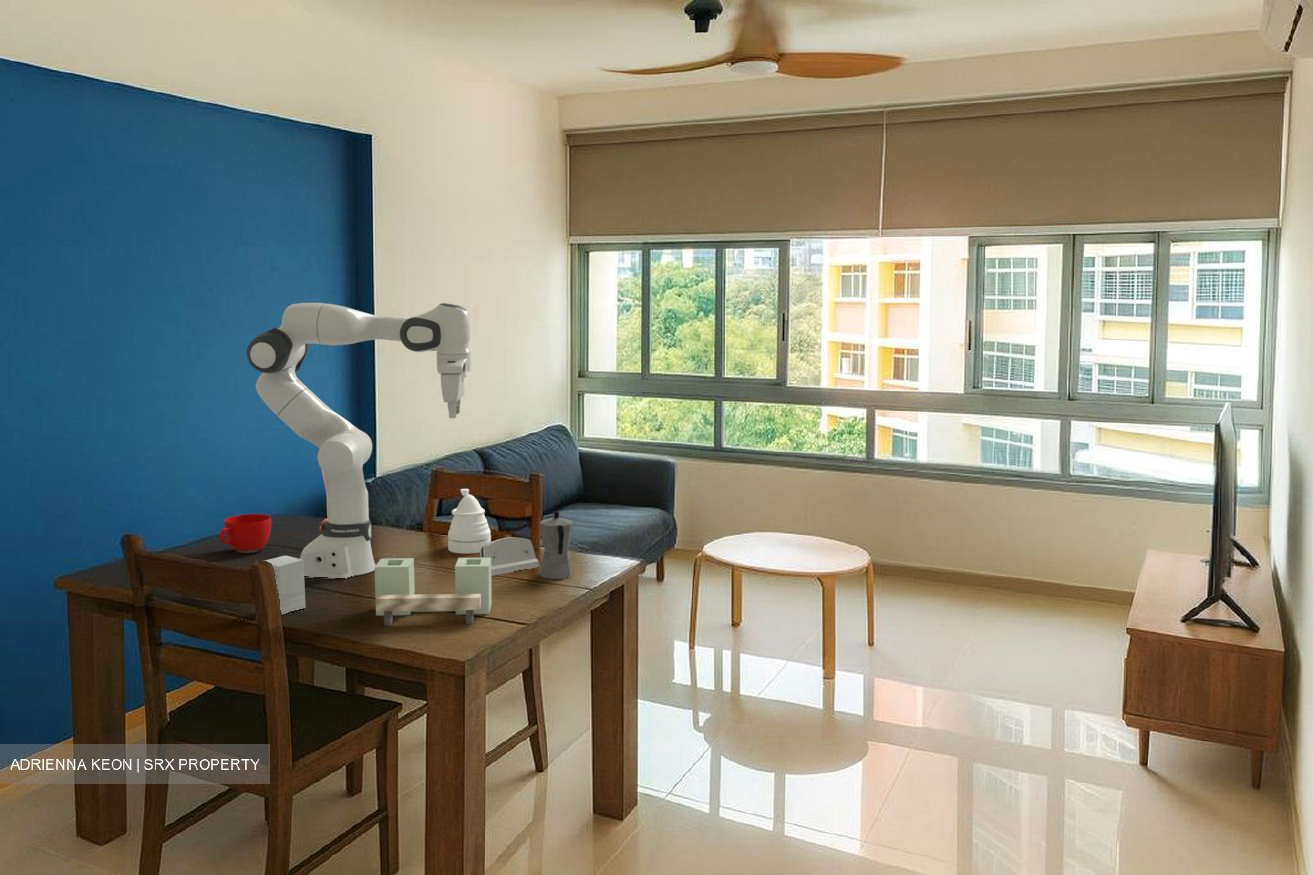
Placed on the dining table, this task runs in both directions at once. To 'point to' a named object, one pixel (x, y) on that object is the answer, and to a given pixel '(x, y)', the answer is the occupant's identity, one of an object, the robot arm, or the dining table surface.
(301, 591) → the supplement box
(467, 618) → the rail
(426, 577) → the dining table surface
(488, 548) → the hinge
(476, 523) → the honey pot
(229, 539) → the ceramic cup
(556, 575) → the coffeepot
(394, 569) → the posts
